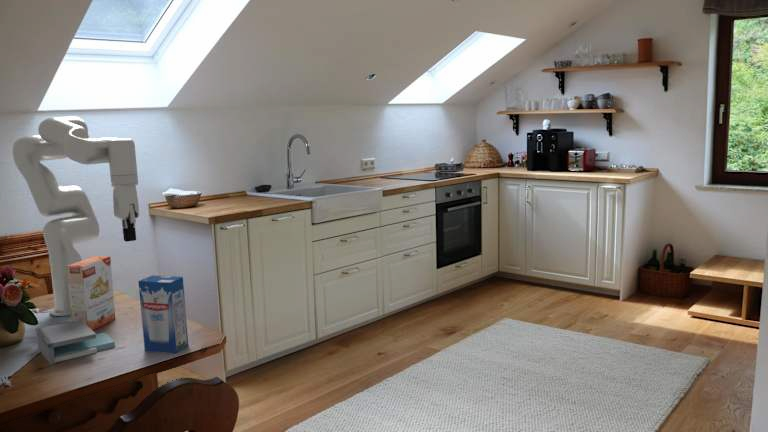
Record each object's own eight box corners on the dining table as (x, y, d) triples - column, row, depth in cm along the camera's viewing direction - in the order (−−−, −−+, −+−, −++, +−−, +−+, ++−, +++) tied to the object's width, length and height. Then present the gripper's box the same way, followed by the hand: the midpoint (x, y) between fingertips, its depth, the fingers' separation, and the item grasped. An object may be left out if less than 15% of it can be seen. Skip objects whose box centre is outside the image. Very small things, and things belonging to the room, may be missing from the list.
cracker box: (89, 333, 198) (82, 266, 194) (72, 332, 199) (64, 265, 195) (117, 318, 211) (111, 255, 208) (100, 318, 212) (94, 255, 209)
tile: (45, 352, 185) (44, 345, 184) (105, 338, 194) (104, 332, 194) (53, 362, 177) (52, 355, 176) (115, 348, 186) (114, 341, 186)
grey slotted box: (38, 348, 186) (35, 329, 185) (83, 338, 193) (81, 319, 193) (50, 364, 174) (47, 344, 173) (97, 353, 181) (95, 333, 180)
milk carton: (188, 345, 185) (183, 276, 182) (176, 353, 179) (170, 282, 176) (157, 343, 188) (151, 275, 184) (144, 351, 182) (138, 281, 179)
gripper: (104, 179, 199) (110, 239, 202) (118, 183, 187) (124, 246, 191) (129, 177, 204) (134, 235, 207) (145, 181, 192) (150, 242, 195)
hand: (130, 240), depth 199 cm, fingers closed
